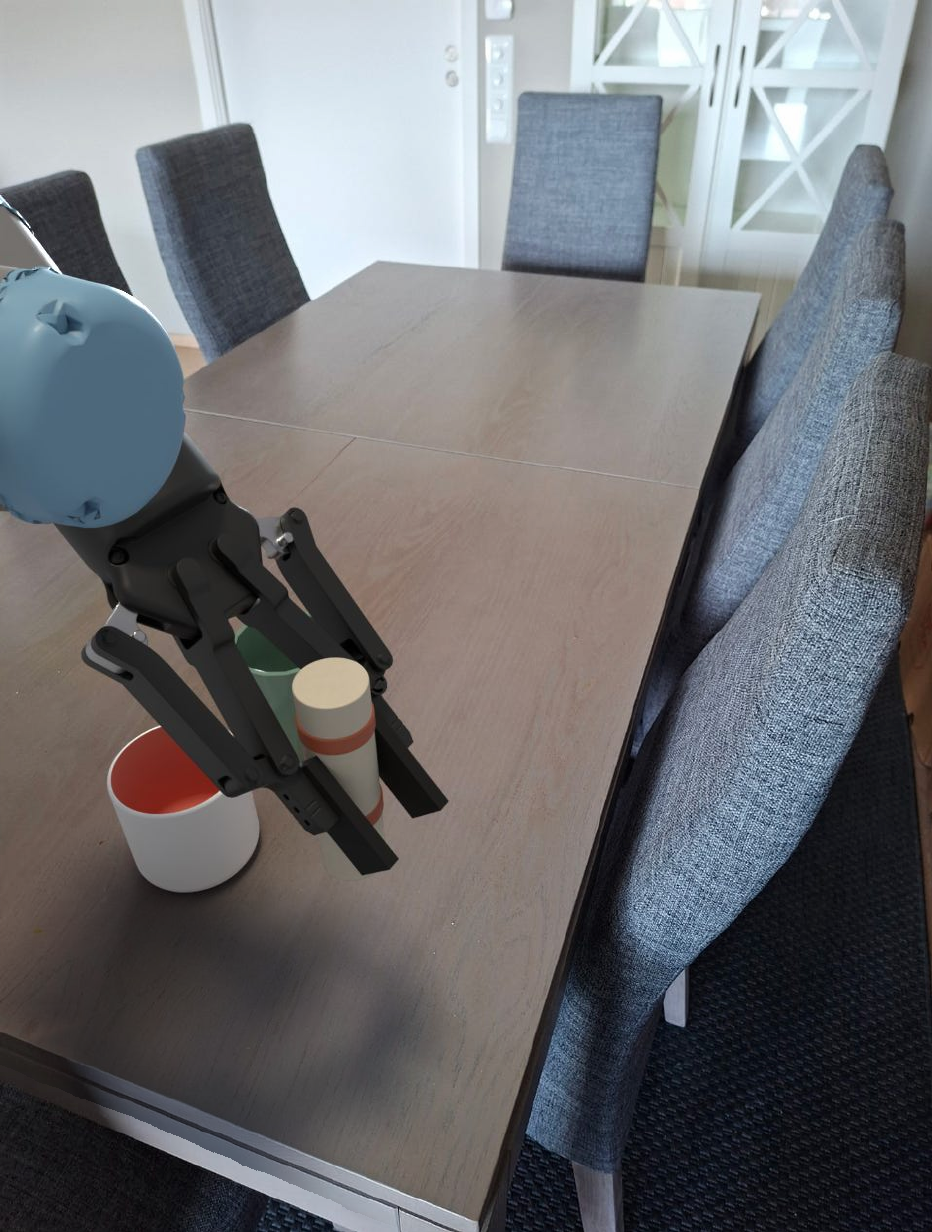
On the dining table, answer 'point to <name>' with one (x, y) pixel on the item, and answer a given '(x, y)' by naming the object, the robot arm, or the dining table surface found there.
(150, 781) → the cup
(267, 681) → the tumbler
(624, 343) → the dining table surface
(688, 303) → the dining table surface
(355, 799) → the cream banded cylinder
